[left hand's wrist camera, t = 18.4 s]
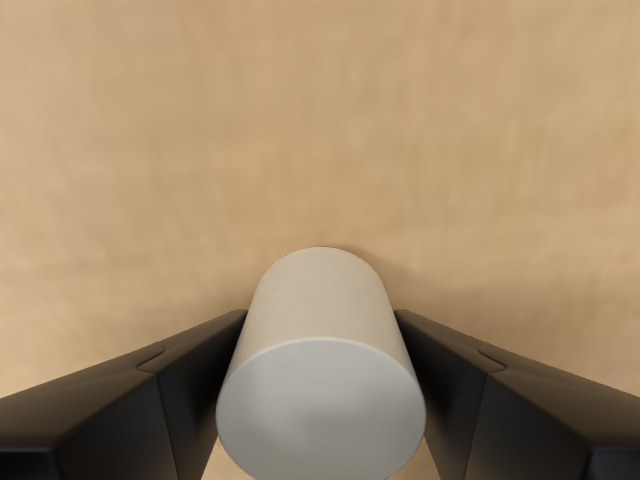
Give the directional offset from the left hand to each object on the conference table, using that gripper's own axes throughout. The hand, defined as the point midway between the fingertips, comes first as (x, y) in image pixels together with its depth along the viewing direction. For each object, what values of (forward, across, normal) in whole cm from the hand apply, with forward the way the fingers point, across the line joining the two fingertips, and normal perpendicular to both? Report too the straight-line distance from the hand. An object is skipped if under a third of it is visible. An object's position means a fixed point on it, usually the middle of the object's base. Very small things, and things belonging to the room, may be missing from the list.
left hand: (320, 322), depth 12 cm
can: (+1, 0, 0) cm, 1 cm away
